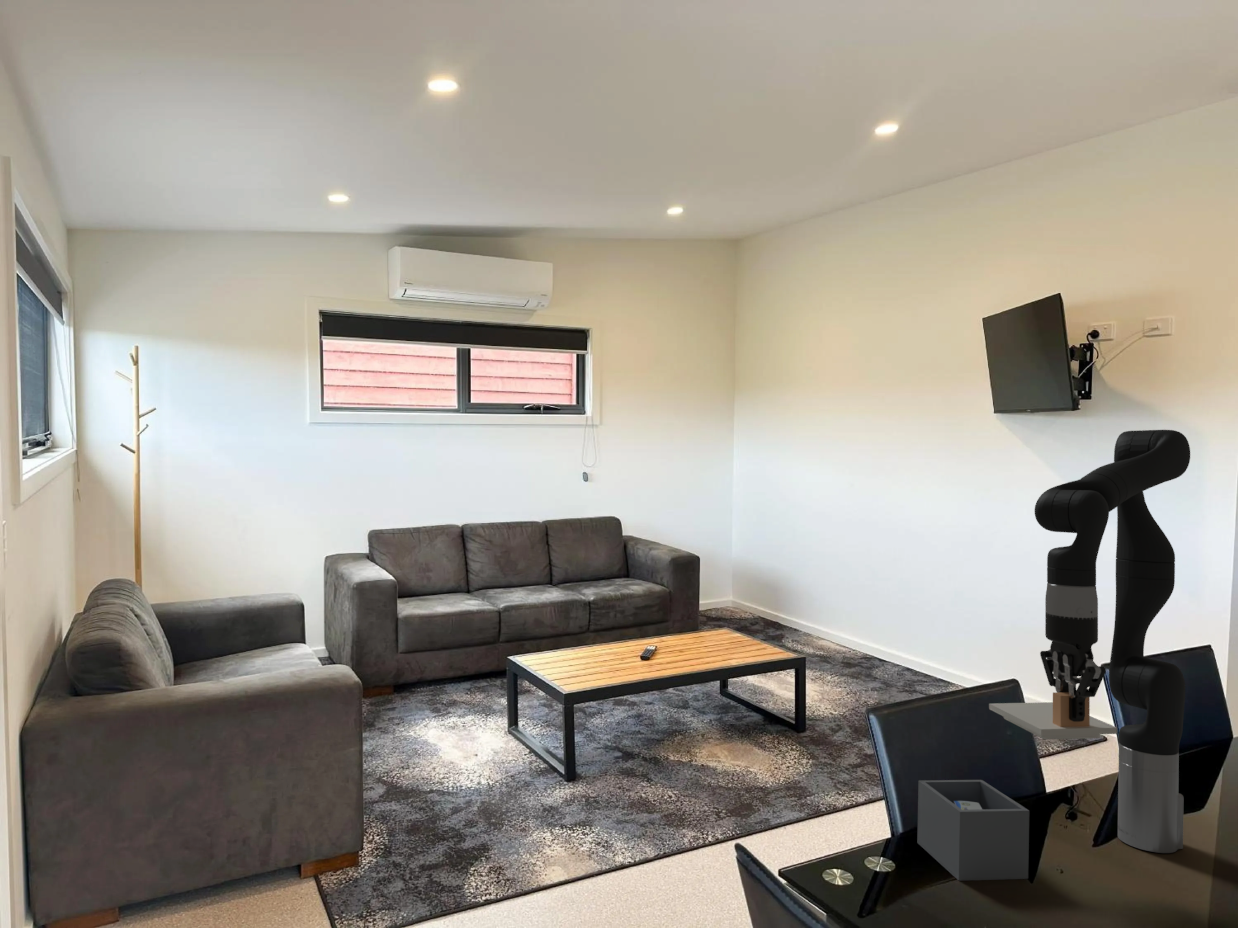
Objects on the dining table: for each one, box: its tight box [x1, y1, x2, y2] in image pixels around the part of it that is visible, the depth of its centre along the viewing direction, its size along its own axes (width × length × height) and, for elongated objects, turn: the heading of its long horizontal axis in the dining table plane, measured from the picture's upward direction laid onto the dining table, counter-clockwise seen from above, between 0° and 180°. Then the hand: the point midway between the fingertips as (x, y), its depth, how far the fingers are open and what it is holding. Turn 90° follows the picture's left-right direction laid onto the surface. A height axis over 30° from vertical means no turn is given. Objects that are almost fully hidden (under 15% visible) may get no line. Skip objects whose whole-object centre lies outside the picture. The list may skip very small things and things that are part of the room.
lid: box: [988, 692, 1118, 741], centre depth 139 cm, size 13×15×7 cm
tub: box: [916, 779, 1030, 881], centre depth 140 cm, size 12×14×11 cm
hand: (1071, 717), depth 134 cm, fingers closed on lid
